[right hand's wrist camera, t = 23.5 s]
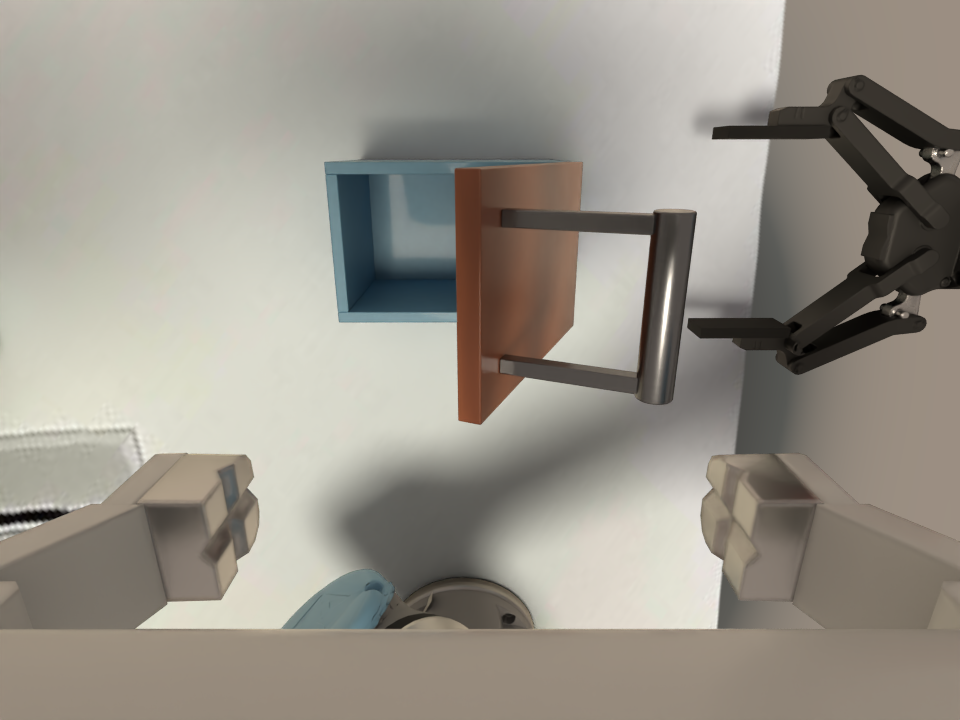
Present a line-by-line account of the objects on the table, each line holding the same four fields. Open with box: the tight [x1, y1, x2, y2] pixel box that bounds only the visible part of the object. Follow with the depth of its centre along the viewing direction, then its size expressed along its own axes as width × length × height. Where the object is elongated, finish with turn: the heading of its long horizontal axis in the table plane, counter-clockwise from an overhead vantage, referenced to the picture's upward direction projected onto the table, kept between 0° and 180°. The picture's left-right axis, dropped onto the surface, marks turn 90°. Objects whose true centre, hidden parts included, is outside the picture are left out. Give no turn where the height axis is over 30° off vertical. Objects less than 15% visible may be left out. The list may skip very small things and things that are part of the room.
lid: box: [454, 162, 697, 425], centre depth 27 cm, size 15×10×8 cm
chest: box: [324, 159, 570, 322], centre depth 41 cm, size 15×10×11 cm, turn 90°
